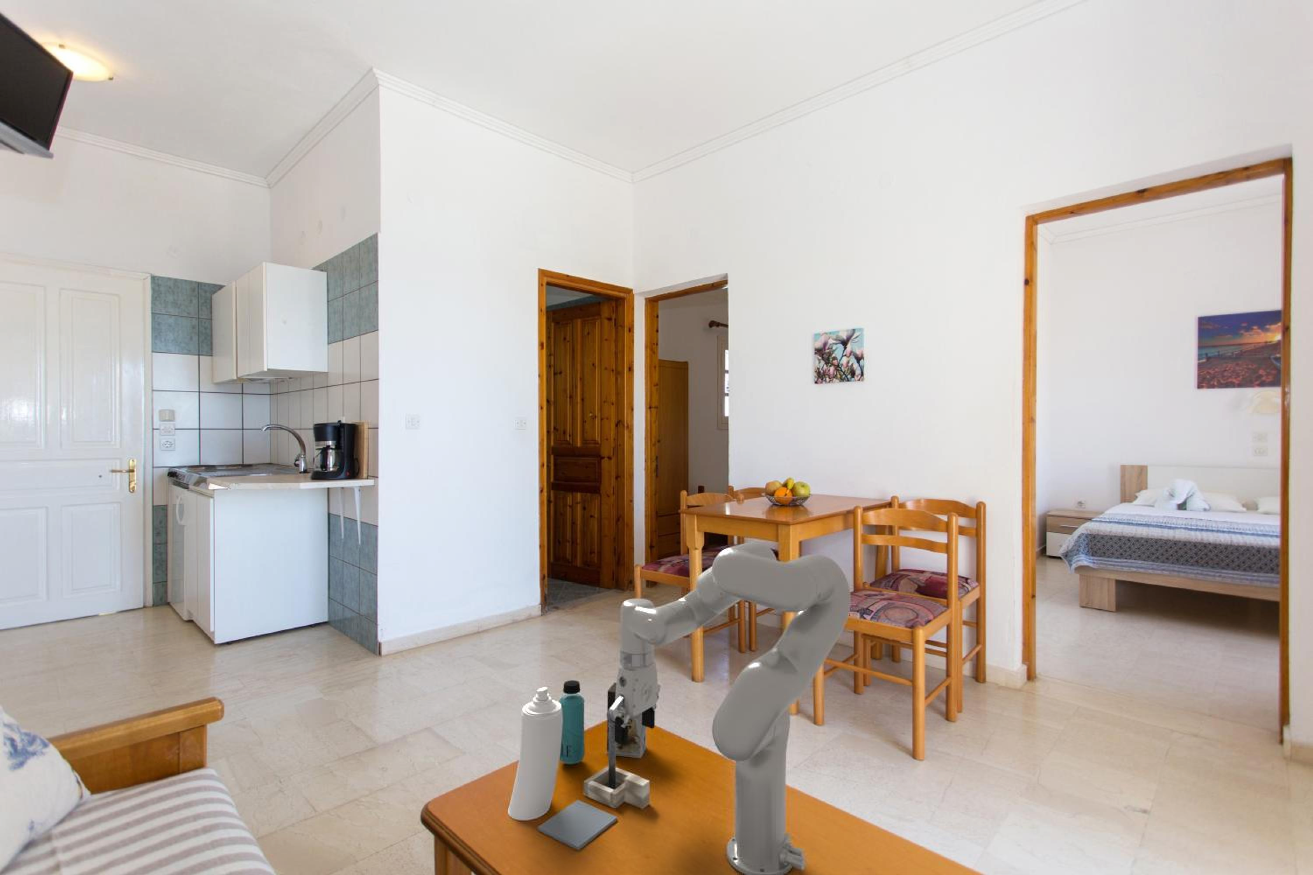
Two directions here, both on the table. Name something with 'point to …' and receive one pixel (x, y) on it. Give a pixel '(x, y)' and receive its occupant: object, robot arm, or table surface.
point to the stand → (612, 756)
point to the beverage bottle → (572, 724)
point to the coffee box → (635, 732)
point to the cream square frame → (618, 789)
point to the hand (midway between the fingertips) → (634, 734)
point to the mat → (577, 824)
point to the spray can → (537, 757)
